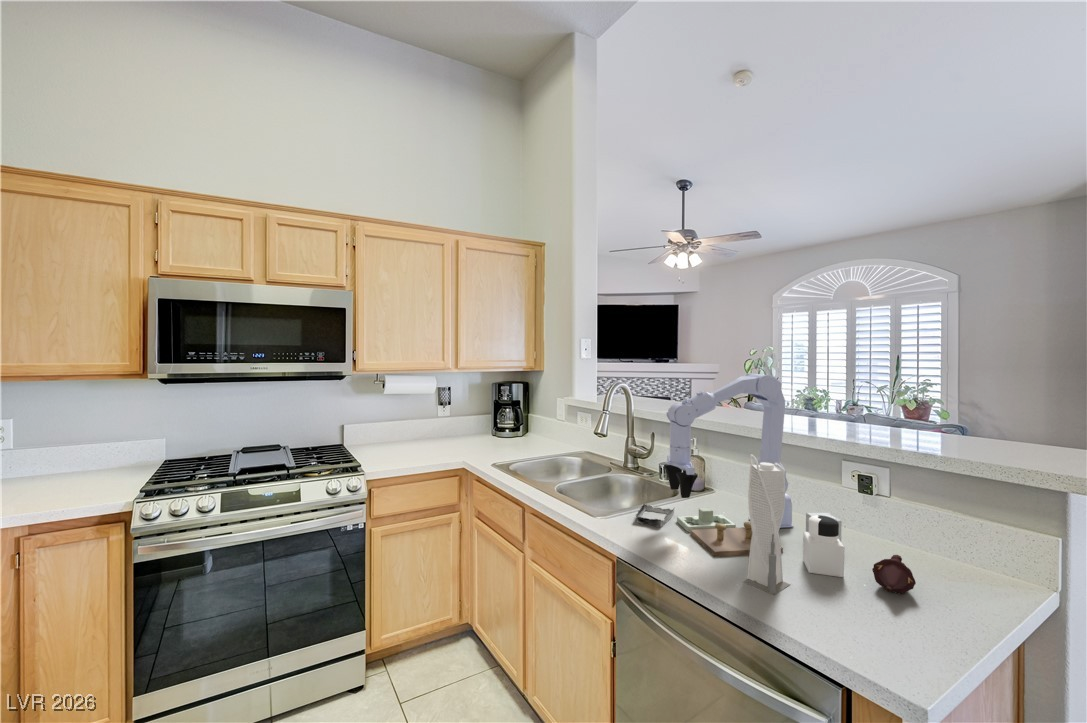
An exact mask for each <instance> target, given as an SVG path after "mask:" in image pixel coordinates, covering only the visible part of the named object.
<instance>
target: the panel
mask: <svg viewBox="0 0 1087 723" xmlns="http://www.w3.org/2000/svg"><path fill="white" fill-rule="evenodd" d="M676 522H677V523H678V525H680V526H681V527H682V528H683V529H685V530H686V532H688V533H691V530H700V529H716V528H715V524H716V522H717V523H722V524H725V525H726V528H737V525H736V523H734V522H733V521H731V520H730V519H729V518H728V517H725V516H724V515H723V514H714V510H712V509H711V508H710V507H704V508H703V507H700V508H698V515H686V516H685V515H683V516H676ZM689 523H692V524H693V525H690V524H689Z"/></svg>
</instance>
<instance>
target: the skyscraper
mask: <svg viewBox="0 0 1087 723" xmlns="http://www.w3.org/2000/svg"><path fill="white" fill-rule="evenodd" d="M753 459H754V462H756V465H755V464H753ZM749 462H750V466H749V474H748V475H749V476H748V477H749V478H748V490H747V491H748V494H747V495H748V496H747V498H748V499H747V500H748V515H749V517H750V520H749V522H750V523H751V528H752V538H751V546H750V555H749V557H748V566H747V578H746V579H744V580H743V581H742V583H744V584H747V585H750V586H751V587H754V588H756V589H759V590H761V591H763V592H766V593H769V594H770V595H773V596H775V595H777V594H778V593H780V592H782V591H783V590H785V589H786V588H788V587H790V586H791V584H790V583H788V582H785V581H784V578H783V577H784V576H783V574H784V573H783V561H782V560H783V559H782V553H781V548H780V547H781V542H780V535H779V531H780V525H781V522H782V518H783V513H784V506H785V493H786V492H785V472H784V469H785V468H784V469H783V467H784V466H783V465H782V466H783V467H782V466H781V465H779V464H778V463H775V464H772V463H766V462H762V463H760V465H758V459H757V457H756V456H755V455H754V454H753V453H751V454H750V455H749ZM777 465H778V466H779V467H780V468H781V469H782V470H781V469H780V468H778V467H777Z"/></svg>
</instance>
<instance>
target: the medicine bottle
mask: <svg viewBox="0 0 1087 723" xmlns="http://www.w3.org/2000/svg"><path fill="white" fill-rule="evenodd" d="M802 535H803V537H802V540H803V543H802V560H803V563H804V565H805V567H806V569H807V572H808V573H809V574H815V575H822V576H830V577H838V578H844V577H845V549H846V548H845V546H844V545H843V543H842V540H841V541H840V540H839V523H838V522H837V521H836V520H835V519H833V518H831V517H828V516H822V515H815V516H811V517H810V518H809V532H806V531H803V534H802Z"/></svg>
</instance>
